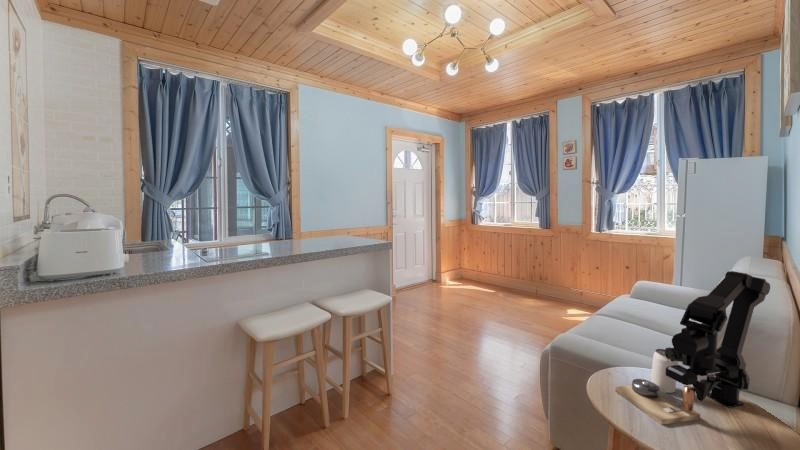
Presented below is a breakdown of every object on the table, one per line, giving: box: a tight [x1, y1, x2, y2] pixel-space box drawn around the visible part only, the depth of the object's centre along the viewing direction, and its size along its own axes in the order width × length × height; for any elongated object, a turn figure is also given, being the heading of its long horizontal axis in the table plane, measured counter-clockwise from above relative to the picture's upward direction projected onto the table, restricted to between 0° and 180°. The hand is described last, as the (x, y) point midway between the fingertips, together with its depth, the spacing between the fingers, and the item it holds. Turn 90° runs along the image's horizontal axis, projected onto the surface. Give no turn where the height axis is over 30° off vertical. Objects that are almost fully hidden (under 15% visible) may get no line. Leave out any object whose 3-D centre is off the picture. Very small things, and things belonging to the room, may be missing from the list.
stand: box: [614, 384, 701, 425], centre depth 106 cm, size 13×16×2 cm
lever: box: [631, 378, 696, 411], centre depth 106 cm, size 16×7×7 cm, turn 28°
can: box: [650, 348, 679, 394], centre depth 114 cm, size 6×6×12 cm
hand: (700, 400), depth 100 cm, fingers closed
